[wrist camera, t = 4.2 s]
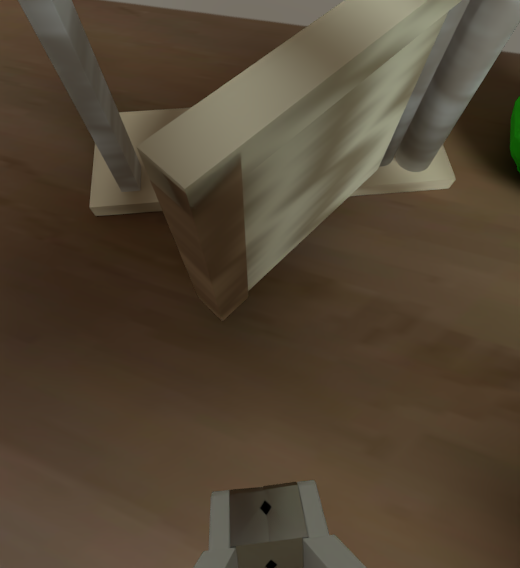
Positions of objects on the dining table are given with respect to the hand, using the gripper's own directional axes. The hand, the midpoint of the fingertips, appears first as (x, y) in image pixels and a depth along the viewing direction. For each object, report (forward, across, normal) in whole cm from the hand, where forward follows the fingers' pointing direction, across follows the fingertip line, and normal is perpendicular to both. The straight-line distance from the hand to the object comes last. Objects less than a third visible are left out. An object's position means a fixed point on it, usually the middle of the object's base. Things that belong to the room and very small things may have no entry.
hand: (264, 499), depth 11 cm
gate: (+15, -4, -5) cm, 16 cm away
